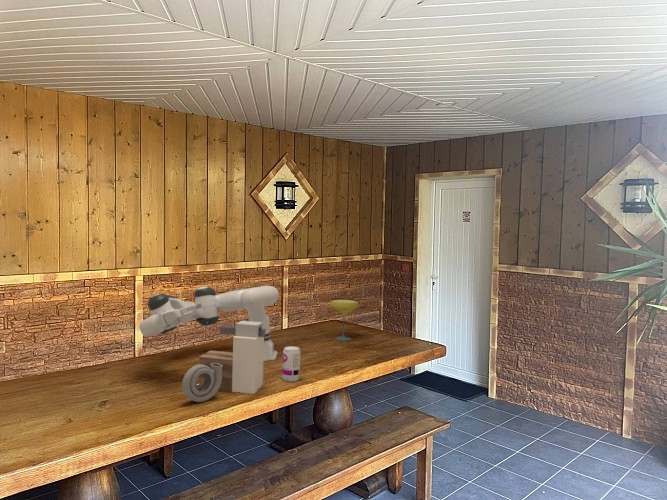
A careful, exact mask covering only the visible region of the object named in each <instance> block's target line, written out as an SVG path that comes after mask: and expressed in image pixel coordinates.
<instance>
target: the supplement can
mask: <svg viewBox="0 0 667 500" xmlns="http://www.w3.org/2000/svg"><path fill="white" fill-rule="evenodd" d="M281 369H282V373H281V374H282V375H281V378H282V380H283V381H285V382H290V383H291V382H292V383H293V382H297V381H298V380H300V376H301V375H300V373H301V372H300V371H301V350H300V347H298V346H292V345H289V346H285V347H284V349H283V350H282V368H281Z"/></svg>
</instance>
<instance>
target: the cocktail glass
mask: <svg viewBox="0 0 667 500" xmlns="http://www.w3.org/2000/svg"><path fill="white" fill-rule="evenodd" d="M329 303H330V307H331V308H332V309H334V310H335V311H337V312H339V313H340V315H341V316H342V317H343V320H342V321H343V322H342V323H343V324H342V334H341V335H340V336H336V337H335V338H334V340H337V341H340V340H341V342H348V341H347V340H349V341H351V340H352V338H351V337H349V336H345V317H346V316H347V315H348V314H349V313H351V312H353V311H355V310H356V309H357V308H359V300H358V299H354V298H344V297H342V298H341V297H340V298H339V297H338V298H332V299H331V300H330V302H329Z"/></svg>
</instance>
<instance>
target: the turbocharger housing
mask: <svg viewBox="0 0 667 500" xmlns="http://www.w3.org/2000/svg"><path fill="white" fill-rule="evenodd" d="M210 365H211V369H210V368H209V367H208V366H205V365H202V364H199V363H198V364H195V365H193V366H192V367H190V368H189V369H188V370H187V371H186V373H185V374H184V376H183V378H182V382H181V390H182V392H183V395H184V397H186V398H187V399H189V400H191V401H193V402H195V403H203V402H206V401H209V400H210V399H212V397H214V396H215V394H216V393H217V392H218V389H219V387H220V385H221V381H222V367H223V365H221V364H218V363H211V364H210ZM203 373H204V375H205V380H204V383H203V385H202V386H201V387H199V386H198V387H197V388H196V381H197V379H198V378H199V375H201V374H203Z"/></svg>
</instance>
